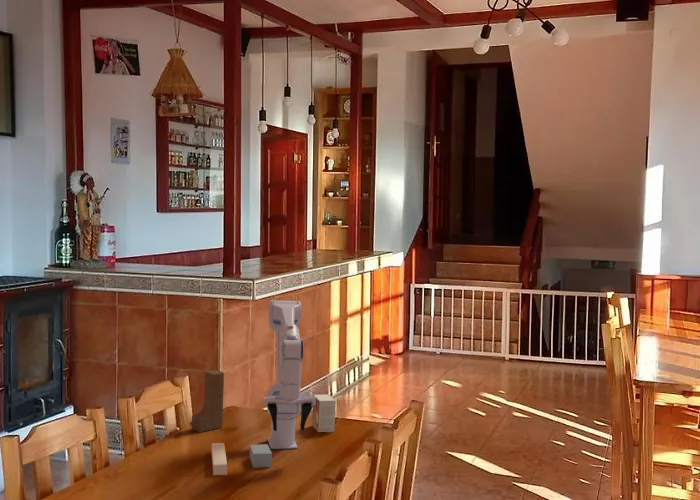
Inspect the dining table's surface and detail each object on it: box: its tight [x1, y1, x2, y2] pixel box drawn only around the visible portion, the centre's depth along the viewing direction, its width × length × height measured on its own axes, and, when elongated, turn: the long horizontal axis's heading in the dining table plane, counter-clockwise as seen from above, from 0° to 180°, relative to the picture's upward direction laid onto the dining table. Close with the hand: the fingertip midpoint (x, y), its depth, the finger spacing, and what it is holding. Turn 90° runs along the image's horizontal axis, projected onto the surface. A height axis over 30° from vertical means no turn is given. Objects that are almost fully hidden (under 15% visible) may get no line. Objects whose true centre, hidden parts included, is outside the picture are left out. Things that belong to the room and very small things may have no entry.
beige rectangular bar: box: [211, 442, 228, 476], centre depth 212 cm, size 18×4×3 cm, turn 12°
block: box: [249, 443, 273, 469], centre depth 214 cm, size 8×5×4 cm, turn 14°
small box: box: [311, 393, 337, 433], centre depth 247 cm, size 8×6×10 cm
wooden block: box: [191, 369, 225, 433], centre depth 242 cm, size 9×4×18 cm, turn 135°
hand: (288, 429), depth 214 cm, fingers open, 7 cm apart
